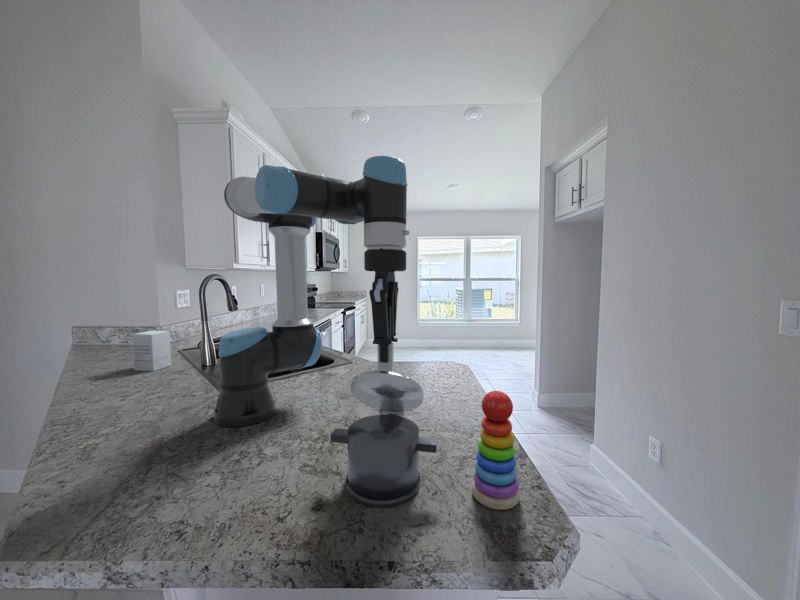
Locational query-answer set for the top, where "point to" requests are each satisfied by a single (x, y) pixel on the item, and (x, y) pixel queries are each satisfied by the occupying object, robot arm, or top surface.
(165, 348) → the supplement box
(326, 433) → the top surface
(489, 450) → the stacking toy
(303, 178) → the robot arm
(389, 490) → the pot
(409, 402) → the lid
